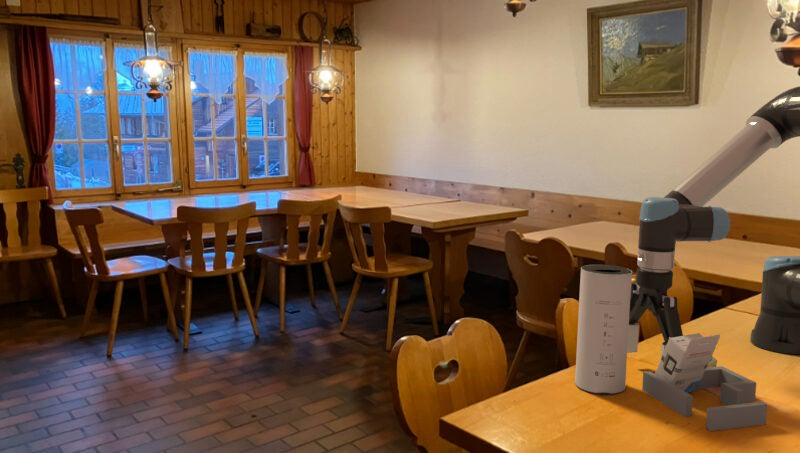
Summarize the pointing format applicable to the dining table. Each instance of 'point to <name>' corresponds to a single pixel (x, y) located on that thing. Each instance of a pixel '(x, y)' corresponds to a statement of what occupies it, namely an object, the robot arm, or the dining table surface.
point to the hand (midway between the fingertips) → (648, 362)
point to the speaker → (603, 329)
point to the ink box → (686, 360)
